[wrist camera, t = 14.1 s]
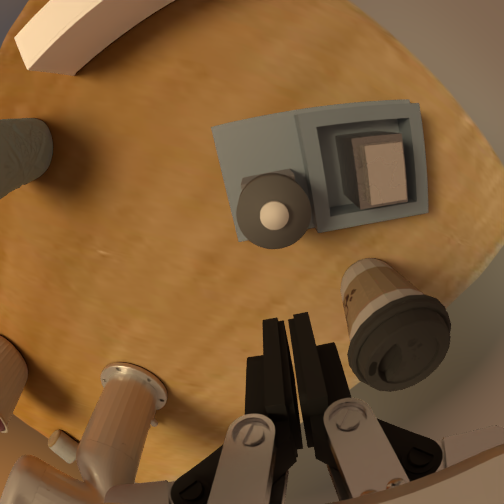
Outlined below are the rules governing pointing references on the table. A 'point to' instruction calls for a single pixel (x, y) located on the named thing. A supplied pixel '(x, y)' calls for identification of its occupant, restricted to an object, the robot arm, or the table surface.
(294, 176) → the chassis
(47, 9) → the beige beam
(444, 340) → the coffee cup
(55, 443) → the ceramic mug
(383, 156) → the beige block
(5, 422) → the canister
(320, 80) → the table surface
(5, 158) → the green tumbler
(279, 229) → the round knob on base
